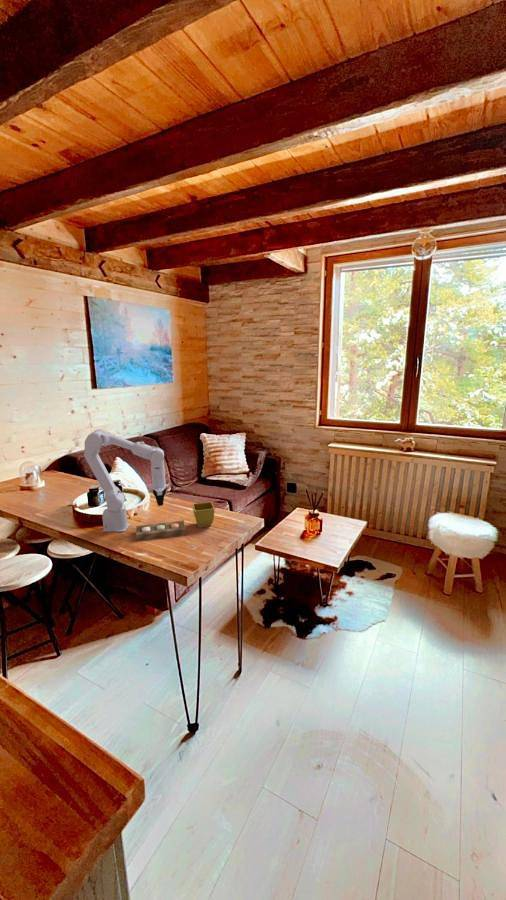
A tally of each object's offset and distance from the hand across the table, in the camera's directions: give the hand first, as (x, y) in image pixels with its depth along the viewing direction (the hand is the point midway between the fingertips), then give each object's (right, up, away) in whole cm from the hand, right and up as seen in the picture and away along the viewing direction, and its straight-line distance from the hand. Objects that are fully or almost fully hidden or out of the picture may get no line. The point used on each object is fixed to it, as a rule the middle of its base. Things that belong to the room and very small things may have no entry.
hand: (160, 505), depth 167 cm
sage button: (+2, -11, -6) cm, 12 cm away
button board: (+2, -11, -6) cm, 12 cm away
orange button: (+7, -10, -4) cm, 13 cm away
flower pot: (+19, -9, +2) cm, 21 cm away
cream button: (-4, -11, -7) cm, 14 cm away
